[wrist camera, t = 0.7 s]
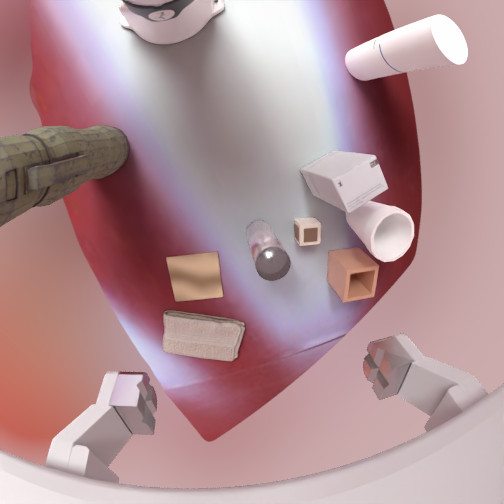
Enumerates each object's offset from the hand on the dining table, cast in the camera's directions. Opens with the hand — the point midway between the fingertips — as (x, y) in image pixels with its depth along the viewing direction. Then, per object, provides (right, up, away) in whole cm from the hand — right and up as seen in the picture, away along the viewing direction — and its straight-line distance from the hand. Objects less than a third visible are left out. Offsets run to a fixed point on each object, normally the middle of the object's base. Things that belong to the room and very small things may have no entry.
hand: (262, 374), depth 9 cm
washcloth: (-12, -14, +53) cm, 56 cm away
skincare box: (+13, +19, +41) cm, 47 cm away
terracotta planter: (+19, +2, +50) cm, 53 cm away
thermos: (-26, +22, +34) cm, 48 cm away
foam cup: (+21, +12, +46) cm, 52 cm away
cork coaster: (-12, -1, +46) cm, 48 cm away
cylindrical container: (+21, +40, +33) cm, 56 cm away
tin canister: (+1, +8, +44) cm, 45 cm away
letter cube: (+10, +9, +45) cm, 47 cm away
